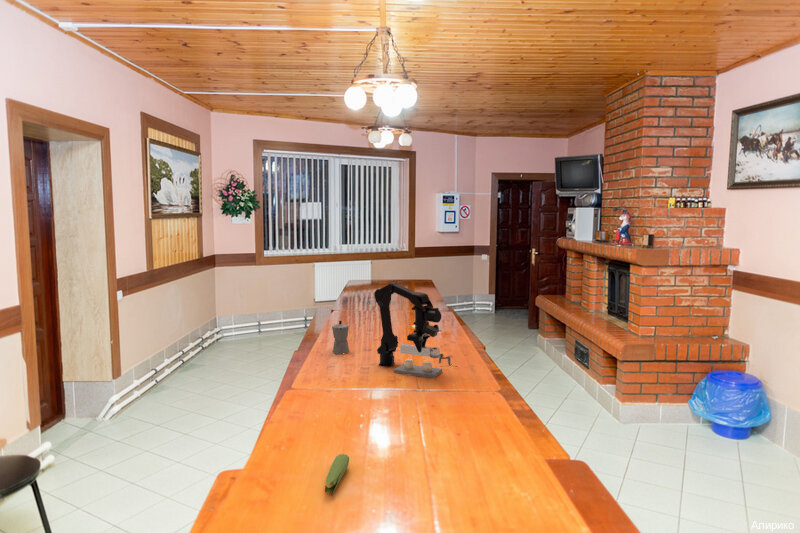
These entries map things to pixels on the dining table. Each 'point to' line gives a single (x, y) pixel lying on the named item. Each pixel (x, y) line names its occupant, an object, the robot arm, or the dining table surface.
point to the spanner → (425, 351)
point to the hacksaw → (444, 358)
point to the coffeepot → (340, 338)
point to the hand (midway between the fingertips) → (421, 351)
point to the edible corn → (336, 472)
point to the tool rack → (418, 369)
